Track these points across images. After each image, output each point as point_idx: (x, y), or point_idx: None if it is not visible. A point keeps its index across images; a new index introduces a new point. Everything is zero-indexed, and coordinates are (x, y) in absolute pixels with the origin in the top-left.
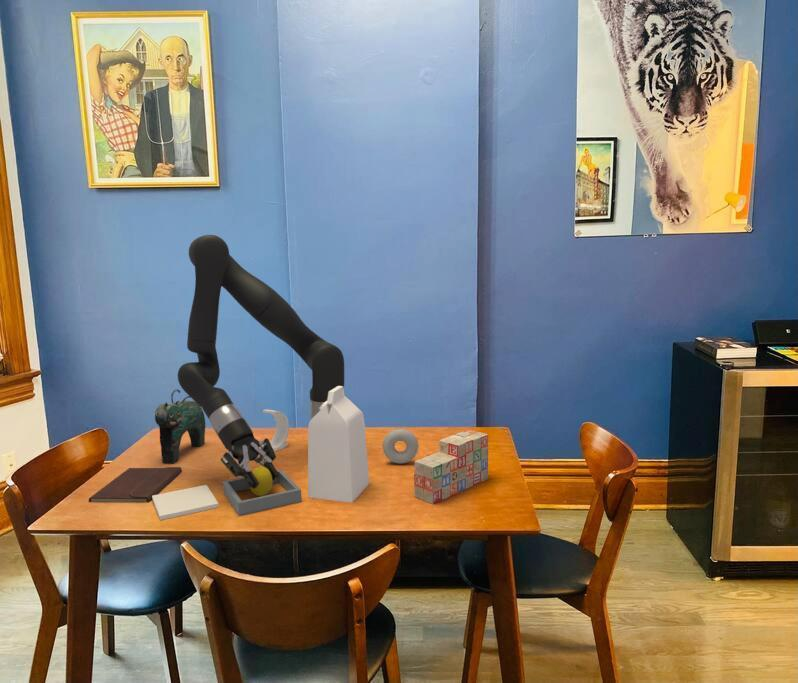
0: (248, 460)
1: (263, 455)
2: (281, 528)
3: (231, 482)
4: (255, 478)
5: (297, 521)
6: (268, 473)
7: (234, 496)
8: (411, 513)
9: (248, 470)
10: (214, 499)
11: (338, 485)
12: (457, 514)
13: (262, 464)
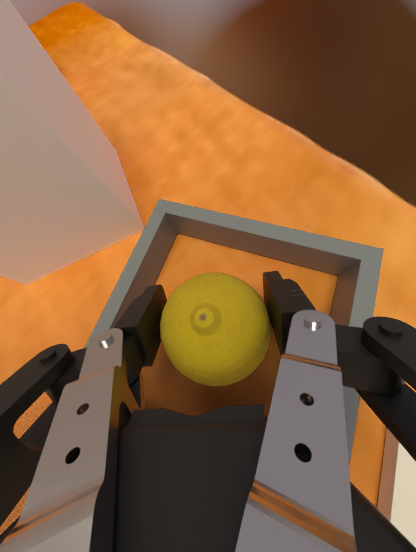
0: (288, 359)
1: (108, 368)
2: (300, 143)
3: None
4: (271, 284)
5: (251, 148)
6: (192, 278)
7: (367, 318)
8: (103, 73)
9: (305, 314)
10: (404, 449)
11: (97, 136)
12: (77, 46)
13: (141, 387)
